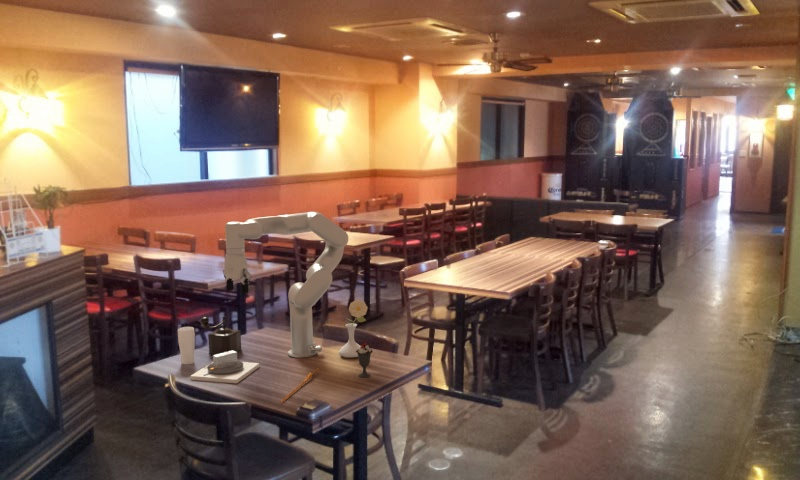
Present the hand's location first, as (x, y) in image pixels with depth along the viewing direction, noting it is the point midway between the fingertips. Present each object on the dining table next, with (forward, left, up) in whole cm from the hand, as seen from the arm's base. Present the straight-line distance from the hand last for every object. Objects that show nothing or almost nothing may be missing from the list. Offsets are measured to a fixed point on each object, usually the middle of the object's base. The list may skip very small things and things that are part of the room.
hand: (237, 291), depth 287 cm
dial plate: (-1, +15, -30) cm, 34 cm away
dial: (-1, +15, -28) cm, 32 cm away
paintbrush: (-37, +23, -31) cm, 53 cm away
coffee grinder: (+13, -7, -31) cm, 34 cm away
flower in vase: (-45, -17, -31) cm, 57 cm away
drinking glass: (+21, +7, -31) cm, 38 cm away
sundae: (-57, +6, -31) cm, 65 cm away
